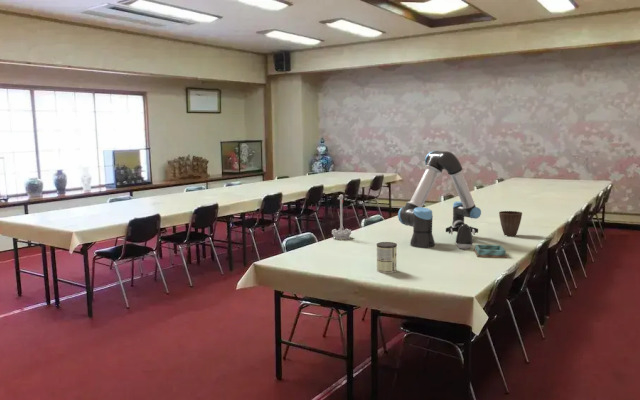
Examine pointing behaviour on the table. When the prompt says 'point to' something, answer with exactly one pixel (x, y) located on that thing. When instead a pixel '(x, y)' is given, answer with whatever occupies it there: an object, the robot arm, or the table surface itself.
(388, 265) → the coffee can
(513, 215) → the plant pot
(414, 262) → the table surface
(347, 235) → the flag stand
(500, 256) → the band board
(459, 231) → the dark grey glossy oval
